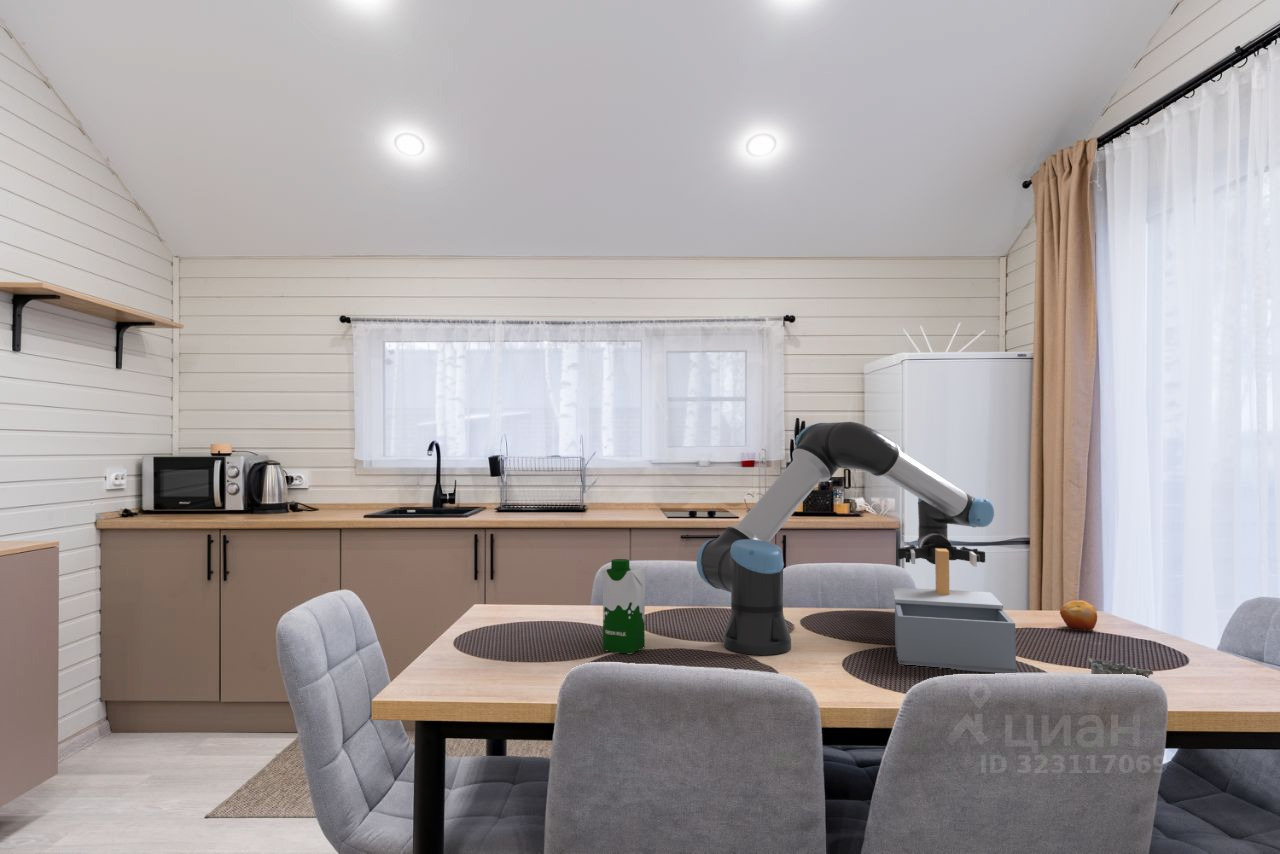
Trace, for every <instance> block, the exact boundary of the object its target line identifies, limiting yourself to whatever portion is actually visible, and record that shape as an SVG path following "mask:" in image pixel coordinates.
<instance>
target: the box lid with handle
mask: <svg viewBox="0 0 1280 854" xmlns="http://www.w3.org/2000/svg"><path fill="white" fill-rule="evenodd" d="M934 566H935V569H934V570H935V588H934V589H932V588H914V587H913V588H912V587H897V586H895V587H892V595H893V598H894V604H895V603H905V604H923V605H940V606H958V607H975V608H993V609H1002V610H1004V605H1003V603H1001V601H1000V600H999V599H998V598H997V597H996V596H995V595H994V594H993V593H992V592H989V591H975V590H971V591H970V590H956V589H955V590H952V589H950V560H949V551H948V550H947V549H938V548H935V564H934Z"/></svg>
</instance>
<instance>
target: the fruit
mask: <svg viewBox="0 0 1280 854" xmlns="http://www.w3.org/2000/svg"><path fill="white" fill-rule="evenodd" d="M1059 615H1060V617H1061V619H1062V620H1063V622H1064V623H1065V625H1066V626H1067V627H1068V628H1069V630H1075V629H1076V630H1077V631H1087V632H1088V631H1093V630H1094V629H1095V627H1096V625H1097V622H1098V613H1097V609H1096V607H1095V606H1094V605H1092V604H1091V603H1089V602H1087V601H1085V600H1081V599H1080V600H1079V599H1078V600H1069V601H1066V602H1065V603H1063V605H1062V606H1061V608H1060V609H1059Z"/></svg>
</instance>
